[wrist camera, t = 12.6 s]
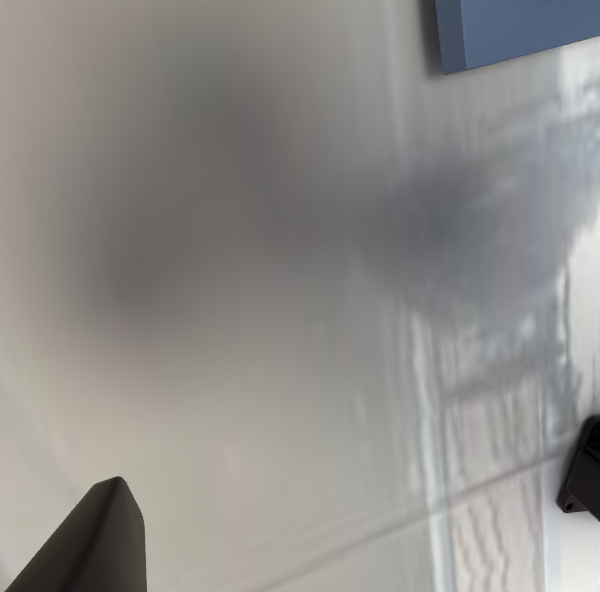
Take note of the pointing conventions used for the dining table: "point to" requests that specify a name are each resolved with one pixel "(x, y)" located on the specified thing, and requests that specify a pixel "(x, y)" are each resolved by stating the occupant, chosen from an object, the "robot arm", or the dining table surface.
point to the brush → (509, 29)
